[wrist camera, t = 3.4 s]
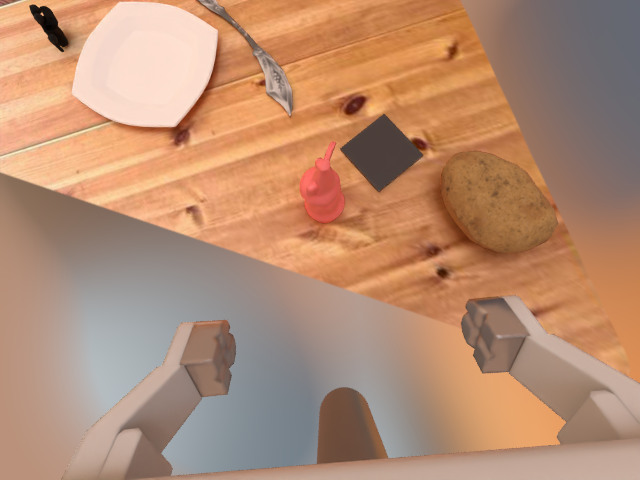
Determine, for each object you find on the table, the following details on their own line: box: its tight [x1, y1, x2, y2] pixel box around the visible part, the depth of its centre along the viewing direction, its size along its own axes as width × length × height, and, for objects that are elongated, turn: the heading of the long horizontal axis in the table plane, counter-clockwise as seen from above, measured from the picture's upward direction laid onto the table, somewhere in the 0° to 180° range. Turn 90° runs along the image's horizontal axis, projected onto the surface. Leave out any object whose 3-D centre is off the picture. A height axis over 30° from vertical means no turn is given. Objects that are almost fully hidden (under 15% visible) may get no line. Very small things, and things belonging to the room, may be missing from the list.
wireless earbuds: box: [29, 4, 68, 52], centre depth 45 cm, size 7×2×5 cm, turn 33°
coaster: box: [340, 114, 423, 192], centre depth 43 cm, size 8×8×1 cm
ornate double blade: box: [198, 0, 292, 116], centre depth 46 cm, size 32×1×5 cm
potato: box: [441, 151, 558, 253], centre depth 37 cm, size 10×14×8 cm
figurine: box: [300, 142, 345, 223], centre depth 34 cm, size 5×5×15 cm
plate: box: [72, 2, 218, 127], centre depth 45 cm, size 19×19×2 cm
